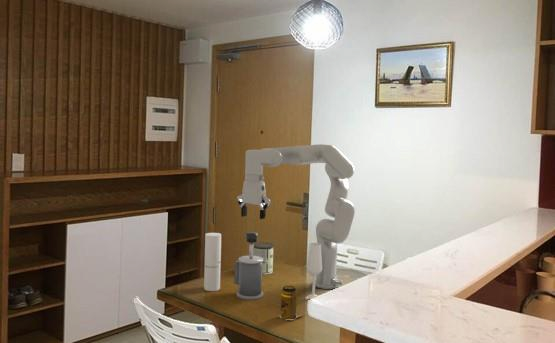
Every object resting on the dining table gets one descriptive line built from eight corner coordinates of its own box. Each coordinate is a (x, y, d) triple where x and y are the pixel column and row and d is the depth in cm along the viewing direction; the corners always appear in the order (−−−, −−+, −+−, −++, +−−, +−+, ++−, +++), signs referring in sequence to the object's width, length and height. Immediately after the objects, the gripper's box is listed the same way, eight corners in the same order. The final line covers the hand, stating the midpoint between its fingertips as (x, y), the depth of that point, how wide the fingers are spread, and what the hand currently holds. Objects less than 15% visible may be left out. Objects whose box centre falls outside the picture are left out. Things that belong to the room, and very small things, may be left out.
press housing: (268, 294, 218) (269, 258, 217) (253, 301, 208) (254, 263, 207) (243, 288, 225) (244, 253, 224) (227, 295, 216) (228, 258, 214)
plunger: (259, 258, 216) (259, 233, 215) (252, 260, 212) (253, 234, 211) (249, 256, 219) (250, 231, 218) (243, 258, 214) (243, 233, 213)
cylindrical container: (222, 287, 226) (224, 233, 224) (214, 292, 219) (215, 236, 217) (209, 285, 229) (210, 232, 227) (201, 289, 222) (202, 234, 220)
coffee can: (254, 268, 259) (255, 242, 258) (273, 269, 258) (274, 243, 257) (251, 273, 249) (252, 246, 248) (271, 275, 248) (272, 247, 247)
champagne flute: (302, 296, 217) (305, 242, 215) (316, 294, 220) (318, 242, 218) (309, 301, 211) (312, 246, 209) (323, 299, 214) (326, 245, 212)
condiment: (275, 317, 192) (277, 287, 191) (289, 311, 198) (290, 282, 197) (290, 322, 187) (291, 291, 186) (304, 316, 194) (305, 286, 193)
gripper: (275, 179, 211) (274, 218, 212) (242, 176, 220) (242, 214, 222) (265, 180, 205) (265, 221, 206) (232, 177, 214) (232, 216, 215)
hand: (253, 217), depth 214 cm, fingers open, 9 cm apart
